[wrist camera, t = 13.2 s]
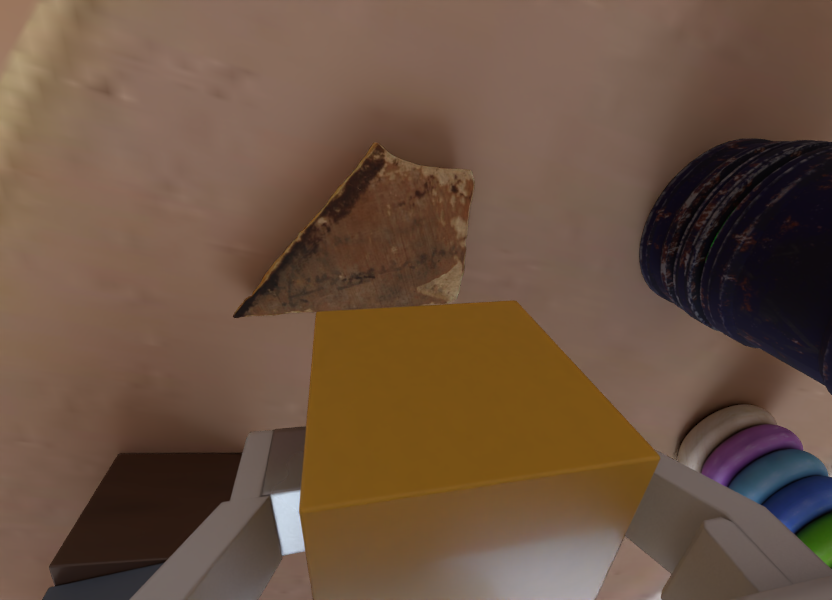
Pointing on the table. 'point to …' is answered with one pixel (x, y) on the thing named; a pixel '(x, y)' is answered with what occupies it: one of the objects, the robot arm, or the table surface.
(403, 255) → the shard
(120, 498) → the walnut block
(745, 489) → the stacking toy
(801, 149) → the storage jar
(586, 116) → the table surface
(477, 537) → the mustard block
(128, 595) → the slate block
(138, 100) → the table surface
